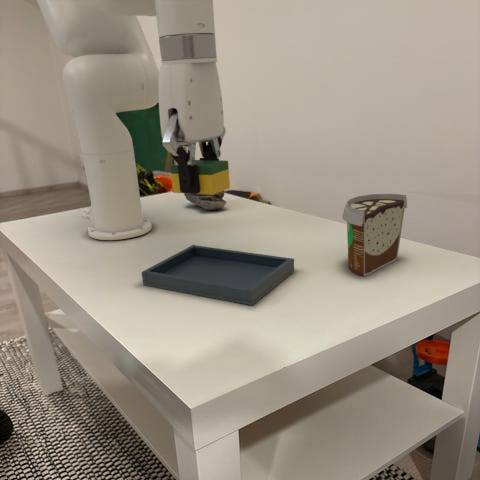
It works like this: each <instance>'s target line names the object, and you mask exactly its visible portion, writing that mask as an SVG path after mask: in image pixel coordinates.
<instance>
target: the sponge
mask: <svg viewBox="0 0 480 480" xmlns="http://www.w3.org/2000/svg"><path fill="white" fill-rule="evenodd" d="M194 165H198V172H199V182H200V193H197V194H205V195H214V194H216V193H219V192H221V191H223V190H224V191H226V190H229V189H230V188H231V186H230V185H231V183H230V169H229V160H221V159H219V160H199V159H195V164H194ZM169 167H170V175H171V186H172V193H174V194H182V193H181V191H180V185H179V176H178V166H177V165H175V163H173V164H170V166H169ZM188 194H192V193H188Z"/></svg>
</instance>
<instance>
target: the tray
mask: <svg viewBox="0 0 480 480" xmlns="http://www.w3.org/2000/svg"><path fill="white" fill-rule="evenodd" d="M294 272H295V258H294V257H293V258H292V257H284V256H277V255H270V254H262V253H255V252H247V251H239V250H234V249H233V250H232V249H227V248H226V249H225V248H218V247H211V246H205V245H204V246H203V245H196V244H191V245H190V246H188V247H187V248H184V249H182V250H181V251H178V252H177V253H175V254H173V255H171V256H169V257H167V258H165V259H163V260H162V261H160V262H158V263H156V264H153V265H152V266H151V267H148V268H146V269H144V270H143V271H141V278H142V285H143V286H147V287H153V288H157V289H163V290H168V291H173V292H178V293H183V294H188V295H194V296H199V297H204V298H210V299H215V300H221V301H226V302H231V303H235V304H236V303H237V304H241V305H248V306H254V305H255V304H256V303H258V302H259V301H260V300H262V298H263V297H265V296H266V295H267V294H269V293H270V292H271V291H272V290H274V289H275V288H276V287H277V286H278V285H279V284H281V283H282V282H283V281H284V280H286V279H287V278H288V277H289V276H291V275H292V274H293V273H294Z"/></svg>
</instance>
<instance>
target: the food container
mask: <svg viewBox="0 0 480 480" xmlns="http://www.w3.org/2000/svg"><path fill="white" fill-rule="evenodd" d="M407 208H408V199H407V194H400V193H399V194H398V193H371V194H363V195H358V196H354V197H352V198H349V199H348V200H347V201H346V204H345V205H344V207H343V212H342V220H344V221H345V222H346V233H347V234H346V235H347V260H348V261H347V262H348V270H350V272H352V273H353V274H355V275H357V276H360V277H363V278H364V277H367V276H368V275H370V274H372V273H374V272H376V271H378V270H380V269H382V268H384V267H386V266H387V265H390V264H392V263H393V262H395V261H397V260H398V258H399V257H398V256H399V250H400V243H401V238H402V237H401V235H402V230H403V224H404V223H403V222H404V215H405V209H407Z"/></svg>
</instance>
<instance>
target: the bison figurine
mask: <svg viewBox="0 0 480 480" xmlns="http://www.w3.org/2000/svg"><path fill="white" fill-rule="evenodd" d="M183 195H184V197H185V199H186V200H187V201H189V202H190V203H191V204H194V205H196V206H198V207H201V208H202V209H203V210H205V211H215V210H218V209H222V208H224V207H225V206H226V205H227V201H226V200H225V199H223V198H224V197H225V190H223V191H221V192H219V193H216V194H214V195H205V194H188V193H183Z"/></svg>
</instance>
